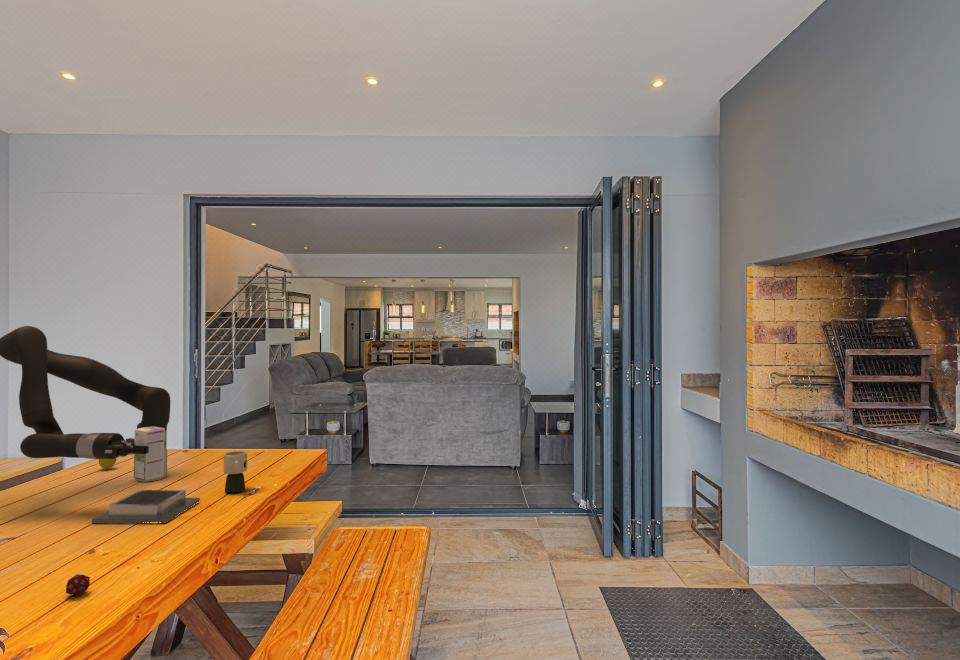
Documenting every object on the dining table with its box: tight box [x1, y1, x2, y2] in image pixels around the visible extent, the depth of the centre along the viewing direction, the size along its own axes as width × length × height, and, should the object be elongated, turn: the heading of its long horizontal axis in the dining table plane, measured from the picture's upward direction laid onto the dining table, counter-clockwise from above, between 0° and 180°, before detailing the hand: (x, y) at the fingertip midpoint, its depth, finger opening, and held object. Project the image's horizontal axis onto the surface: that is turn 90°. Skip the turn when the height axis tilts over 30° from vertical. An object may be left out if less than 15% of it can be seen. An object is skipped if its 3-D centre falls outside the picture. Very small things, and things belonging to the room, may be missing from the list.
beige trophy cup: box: [223, 450, 248, 493], centre depth 169 cm, size 11×7×13 cm, turn 30°
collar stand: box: [91, 489, 201, 524], centre depth 149 cm, size 18×20×4 cm
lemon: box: [98, 458, 117, 471], centre depth 194 cm, size 6×6×8 cm
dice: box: [65, 573, 91, 597], centre depth 102 cm, size 4×4×4 cm
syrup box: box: [133, 427, 165, 480], centre depth 149 cm, size 6×6×14 cm
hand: (156, 446), depth 149 cm, fingers closed on syrup box, 7 cm apart
